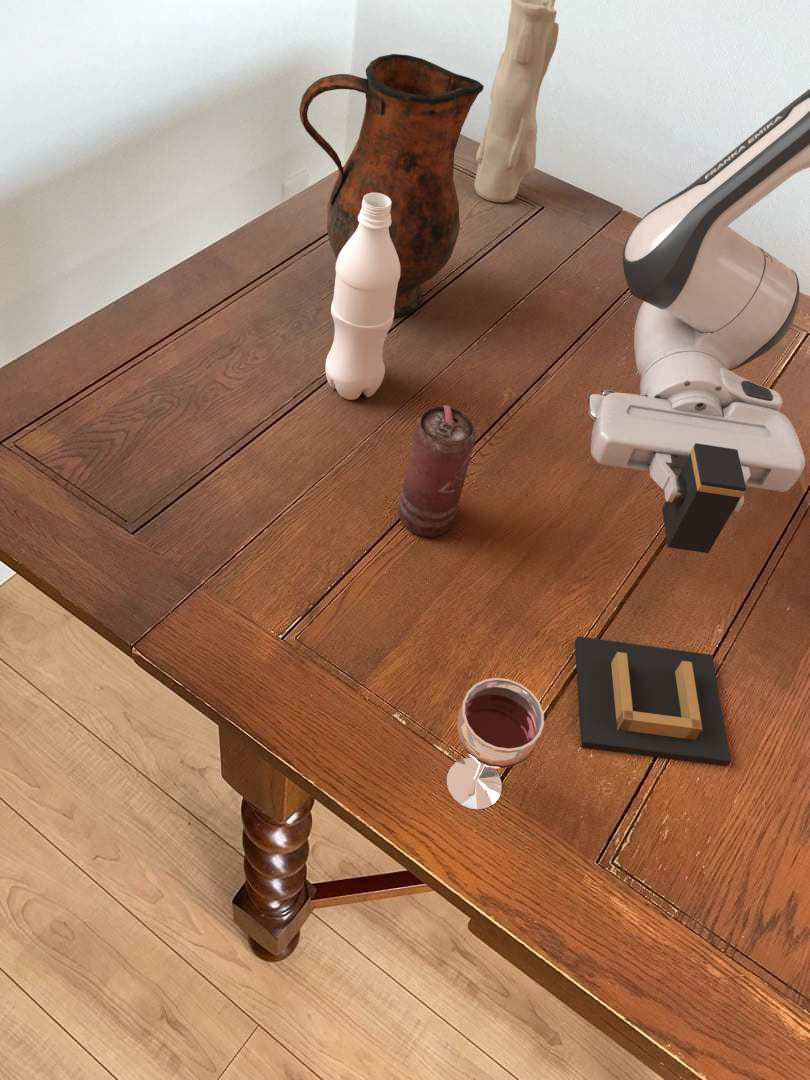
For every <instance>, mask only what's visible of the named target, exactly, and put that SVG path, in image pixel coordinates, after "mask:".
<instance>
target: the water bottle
mask: <svg viewBox="0 0 810 1080" xmlns="http://www.w3.org/2000/svg"><path fill="white" fill-rule="evenodd" d="M391 204H392V202H391V200H390V198H389V197H387V196H386V195H384V194H380V193H369V194H366V195H365V196H364V198H363V200H362V208H361V211H360V214H359V215H358V221H359V225H358V228H357V230H356V231H355V233H354V234H353V235H352V237H351V238H350V239H349V240H348V242H347V243H346V244H345V246H344V247H343V249H342V250H341V252H340V254H339V256H338V258H337V260H336V262H335V267H334V269H335V278H334V279H335V280H334V289H333V298H332V301H331V306H330V314H331V317H332V320H333V325H334V336H333V341H332V345H331V347H330V350H329V352H328V354H327V355H326V359H325V366H324V367H325V369H324V370H325V377H326V380H327V383H328V385H329V386H330V388H331V389H333V390H334V389H336V391H337V393H338V395H339V396H340V397H342V398H343V399H345V400H349V401H354V400H357V399H358V398H360V396H361V395H362V394H363V395H364V396H365V397H366V398H369V397H372V396H373V395H374V394H376V392H377V390H379V388H380V387H381V385H382V384H383V381H384V377H385V373H386V366H385V363H384V358H383V357H384V356H383V352H384V345H385V340H386V337H387V335H388V333H389V331H390V329H391V327H392V325H393V323H394V318H395V317H394V305H395V299H396V292H397V286H398V281H399V279H400V270H401V269H400V262H399V258H398V255H397V252H396V250H395V247H394V245H393V243H392V240H391V238H390V235H389V227H390V225H391V214H390V211H391Z"/></svg>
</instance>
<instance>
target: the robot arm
mask: <svg viewBox="0 0 810 1080" xmlns="http://www.w3.org/2000/svg"><path fill="white" fill-rule="evenodd" d="M809 168H810V88H809V89H807V90H806V91H804V92H803V93H802V94H800V95H799V96H798V97H797V98H795V99H794V100H793V101H792V102H790V103H789V104H788V105H787V106H785V107H784V108H782V109H781V110H780V111H779V112H778V113H776V114H775V115H774V116H772V117H771V118H770V119H769V120H768V121H766V123H764V124H763V125H762V126H760V128H758V129H757V130H755V131H754V132H753V133H752V134H751V135H750V136H749V137H747V138H746V139H745V140H744V141H743V142H741V143H740V144H738V146H736V147H735V148H733V150H731V151H730V152H729V153H728V154H726V155H725V156H724V157H723V158H722V159H720V160H719V161H718V162H717V163H715V165H713V166H712V167H711V168H709V169H708V170H707V171H706V172H704V173H703V174H702V175H701V176H700V177H698V178H697V179H696V180H695V181H693V182H692V183H691V184H689V186H687V187H685V188H684V189H683V190H681V191H679V192H678V193H676V194H675V195H672V196H670V198H668V199H666V200H665V201H663V202H660V204H658V205H657V206H655V207H654V208H652V209H651V210H650V211H648V212H647V214H645V215H644V216H643V217H642V218H641V219H640V220H639V221H638V222H637V224H636V225H635V226H634V227H633V229H632V231H631V232H630V234H628V237H627V239H626V241H625V243H624V246H623V249H622V268H623V274H624V279H625V281H626V286H627V287H628V290H629V293H630V295H632V296H633V297H634V298H636V299H638V300H640V301H643V302H642V303H641V305H640V307H639V309H638V313H637V316H636V320H635V324H634V331H633V332H634V333H633V350H634V359H635V365H636V366H635V367H636V371H637V374H638V376H639V378H640V381H639V394H638V393H632V392H619V391H616V390H613V389H602V390H601V392H595V393H592V394H590V396H589V397H588V399H587V407H588V408H587V410H588V414H589V416H590V418H591V419H593V420H594V422H593V425H592V431H591V437H590V455H591V457H592V458H593V459H594V460H595V461H596V462H597V463H598V464H599V465H601V466H607V467H614V468H621V469H627V470H628V469H629V470H634V471H641V472H648V473H649V477H650V478H651V480H653V481H654V483H656V484H657V485H658V486H659V488H661V490H663V491H664V492H663V493H664V499H665V502H672V503H680V504H682V502H683V501H684V500H683V499H684V498H685V497H686V494H687V487H686V481H685V479H681V478H678V477H679V475H680V473H681V471H682V469H683V467H684V465H685V463H686V461H687V459H688V457H689V455H690V451H691V449H692V447H693V446H694V445H695V443H698V444H705V445H711V446H718V447H724V448H730V449H737V450H738V454H739V459H740V463H741V467H742V472H743V476H744V480H745V485H746V488H747V487H748V488H754V489H761V490H768V491H774V492H780V493H784V492H787V491H789V490H790V489H792V487H793V486H794V485H795V484H796V483H797V481H798V480H799V479H800V477H801V475H802V473H803V472H804V469H805V466H806V457H805V454H804V450H803V447H802V444H801V441H800V438H799V436H798V434H797V431H796V429H795V427H794V425H793V424H792V422H791V420H790V419H789V418H788V417H787V416H786V415H785V414H783V413H782V412H780V411H781V409H782V406H783V402H784V401H783V398H782V395H781V394H780V392H778V391H776V390H774V389H771V388H769V387H766V386H763V385H760V384H758V383H755V382H753V381H751V380H748V379H746V378H744V377H742V376H740V375H738V374H737V373H735V372H734V370H737V369H739V368H741V367H743V366H745V365H747V364H749V363H750V362H752V361H754V360H756V359H757V358H759V357H762V356H763V355H765V354H766V353H767V352H769V351H770V350H771V349H773V348H774V347H775V346H776V345H778V343H779V342H780V341H782V339H784V337H785V336H786V335H787V334H788V333H789V331H790V329H791V327H792V325H793V323H794V320H795V317H796V314H797V311H798V308H799V302H800V283H799V278H798V275H797V273H796V271H794V269H792V268H790V267H789V266H788V265H786V264H784V262H782V261H780V260H779V259H777V257H775V256H773V255H772V254H770V253H769V252H768V251H766V250H764V249H763V248H761V247H760V246H758V245H756V244H754V243H753V242H752V241H750V240H748V239H747V238H745V237H744V236H743V235H741V234H739V233H738V232H737V231H735V230H734V229H732V228H731V227H729V226H730V225H731V224H732V223H733V222H735V221H736V220H737V219H739V217H741V216H742V215H744V214H745V213H746V212H748V211H749V210H750V209H751V208H753V207H754V206H755V205H757V204H758V203H760V202H761V200H764V198H765V197H767V196H768V195H769V194H771V193H772V192H774V191H775V190H776V189H777V188H778V187H780V186H781V185H782V184H784V183H785V182H786V181H788V180H789V179H790V178H791V177H793V176H794V175H796V174H798V173H800V172H802V171H803V170H804V171H805V170H807V169H809ZM744 502H745V497H744V495H743V496H742V497H741V498H740V500H739V502H738V503H737V505H736V507H735V508H734V510H733V512H732V513H739V512H740V510H741V509H742V508H743V507H742V506H743V505H744Z"/></svg>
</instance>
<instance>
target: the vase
mask: <svg viewBox="0 0 810 1080" xmlns="http://www.w3.org/2000/svg"><path fill="white" fill-rule="evenodd" d="M555 3H556V0H511V3H510V4H511V7H510V13H509V19H508V25H507V36H506V41H505V47H504V49H503V52H502V53H501V56H500V58H499V62H498V66H497V69H496V72H495V75H494V78H493V82H492V85H491V89H490V95H489V98H490V107H489V113H488V119H487V123H486V124H485V126H484V131H483V135H482V138H481V142H480V144H479V146H478V149H477V151H476V156H475V161H476V162H477V163H478V166H477V170H476V174H475V179H474V191H475V193H476V194H477V195H478V196H479V197H481V198H482V199H485V200H486V201H489V202H494V203H509V202H511V201H512V200H514V199H515V197H517V194H518V192H519V188H520V185H521V182H522V180H523V179H525V178H528V177H530V176H531V175H532V174H533V172H534V169H535V166H536V161H537V160H536V159H537V141H538V140H537V139H538V136H537V135H538V123H537V117H536V115H537V106H538V100H539V96H540V90H541V86H542V83H543V81H544V78H545V76H546V74H547V71H548V68H549V66H550V62H551V61H552V58H553V56H554V53H555V51H556V47H557V42H558V37H559V31H560V28H559V26H560V25H559V23H558V22H556V19H557V12H558V11H557V10H556V9H555V8H554V7H555Z"/></svg>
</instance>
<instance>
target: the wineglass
mask: <svg viewBox="0 0 810 1080" xmlns="http://www.w3.org/2000/svg"><path fill="white" fill-rule="evenodd" d="M463 698H464V699H463V701H462V704H461V705H460V708H459V710H458V713H457V716H456V734H457V736H458V740H459V744H460V745H461V748H463V750H464V751H465V753H466V754H467V756H468V757H465V758H461V759H459V760H458V761H456V762H454V764H452V766H451V767H450V768H449V770H448V773H447V775H446V786H447V789H448V792H449V794H450V795H451V797H452V798H453V800H455V801H456V802H457V803H458V804H459V805H461V806H463V807H464V808H467V809H472V810H483V809H487V808H489V807H491V806H492V805H494V804H496V802H497V801H498V800H499V798H500V797H501V794H502V792H503V791H502V789H503V788H502V787H503V786H502V780H501V777H500V774H499V773H498V771H497V770H496V769H506V768H511V767H514V766H516V765H519V764H521V763H522V762H524V761H526V760H527V759H528V758H529V757H530V756H531V754H532V753H533V752H534V751H535V749H536V746H537V743H538V741H539V737H540V736H541V734H542V732H543V728H544V726H545V713H544V710H543V708H542V705H541V702H540V701H539V699H538V698H537V697H536V695H535V694H534V693H533V692H532V691H531V690H529V689H528V688H527V687H526V686H525V685H523V684H521V683H519V682H517V681H514V680H512V679H510V678H501V677H493V678H485V679H483V680H481V681H479V682H477V683H475V684H473V686H472V687H470V689H469V690H468V691H467V692H466V694H465V696H464V697H463Z"/></svg>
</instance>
